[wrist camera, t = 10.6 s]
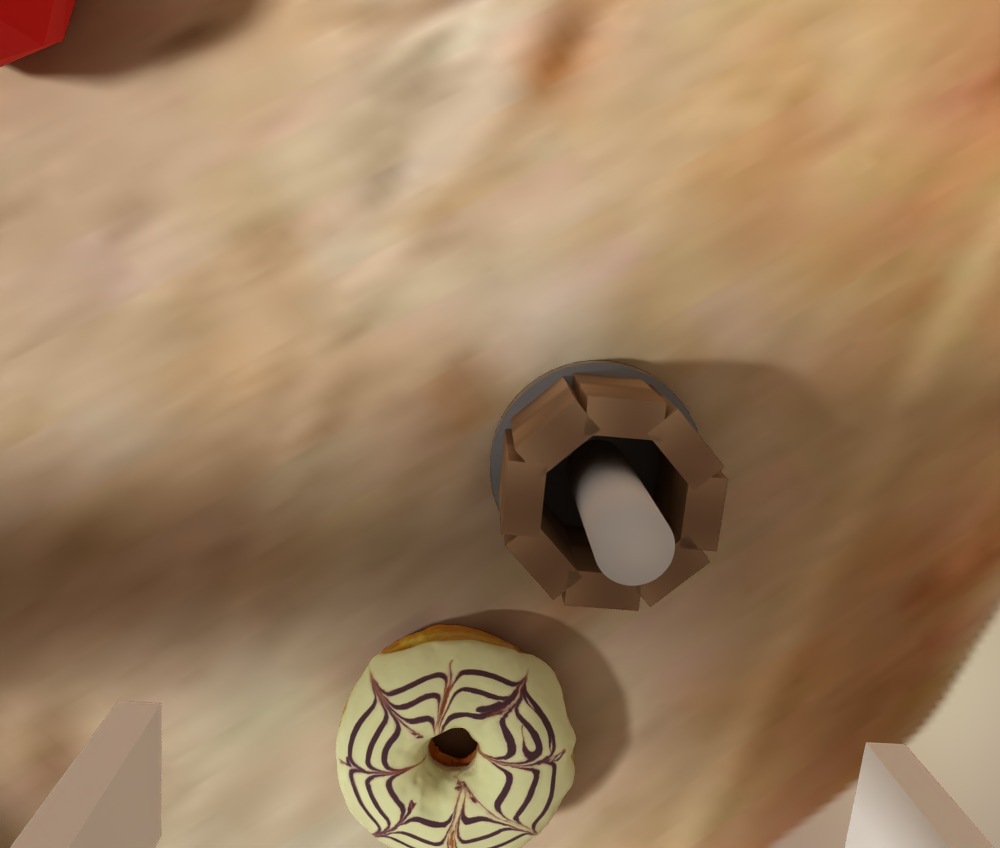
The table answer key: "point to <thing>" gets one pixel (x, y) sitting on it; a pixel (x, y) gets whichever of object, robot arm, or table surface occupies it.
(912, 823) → the robot arm
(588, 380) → the ring
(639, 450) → the post
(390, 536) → the table surface
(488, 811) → the decorated donut
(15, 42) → the apple
